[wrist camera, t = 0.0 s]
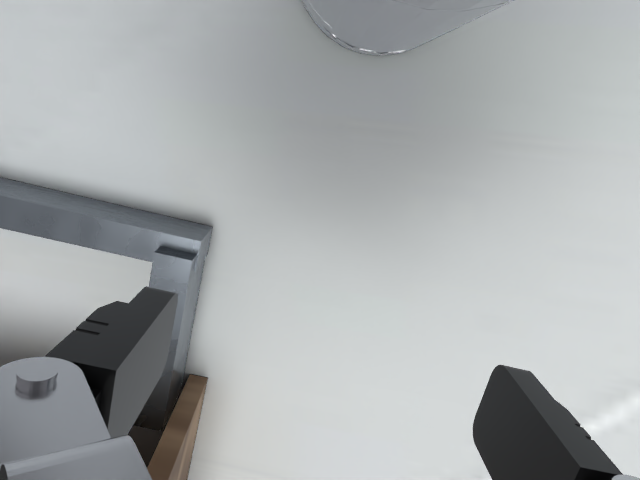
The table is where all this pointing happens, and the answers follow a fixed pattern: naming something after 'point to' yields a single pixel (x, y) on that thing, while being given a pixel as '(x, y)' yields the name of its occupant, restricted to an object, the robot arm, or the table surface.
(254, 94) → the table surface
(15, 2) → the table surface
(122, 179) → the table surface
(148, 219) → the rake
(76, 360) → the robot arm
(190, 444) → the shelf
